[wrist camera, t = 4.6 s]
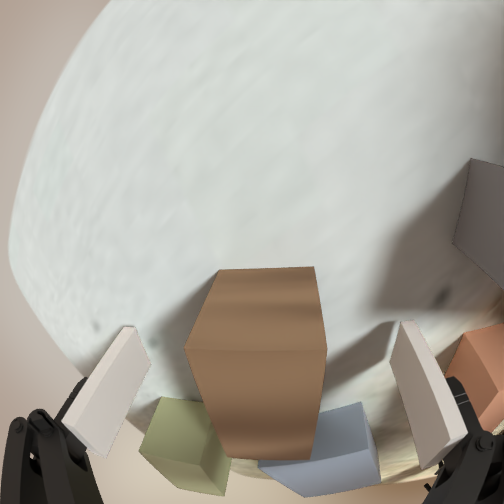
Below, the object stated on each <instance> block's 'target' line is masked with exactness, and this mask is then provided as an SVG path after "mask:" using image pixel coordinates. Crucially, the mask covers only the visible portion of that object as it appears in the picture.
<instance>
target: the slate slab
mask: <svg viewBox="0 0 504 504" xmlns="http://www.w3.org/2000/svg"><path fill="white" fill-rule="evenodd" d="M258 468H259V469H260V470H262V471H263V472H264V473H266V474H267V475H269V476H270V477H272V478H273V479H275V480H277V481H278V482H280V483H281V484H283V485H284V486H286V487H287V488H289V489H291V490H292V491H294V492H296V493H298V494H299V495H301V496H303V497H313V496H321V495H327V494H334V493H339V492H345V491H349V490H354V489H358V488H363V487H367V486H371V485H375V484H379V483H381V475H380V467H379V460H378V453H377V448H376V445H375V442H374V439H373V436H372V433H371V429H370V426H369V423H368V420H367V417H366V414H365V411H364V408H363V405H362V403H361V402H358V403H355V404H352V405H348V406H345V407H341V408H337V409H334V410H330V411H326V412H322V413H319V414H318V420H317V426H316V431H315V437H314V442H313V447H312V452H311V457H310V460H259V461H258Z"/></svg>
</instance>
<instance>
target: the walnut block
mask: <svg viewBox="0 0 504 504" xmlns="http://www.w3.org/2000/svg"><path fill="white" fill-rule="evenodd" d="M184 350H185V353H186V356H187V359H188V362H189V365H190V368H191V371H192V373H193V376H194V379H195V382H196V384H197V387H198V390H199V392H200V395H201V397H202V400H203V402H204V405H205V407H206V410H207V412H208V415H209V417H210V420H211V422H212V424H213V427H214V429H215V431H216V434H217V436H218V438H219V440H220V443H221V445H222V447H223V449H224V451H225V453H226V456H227V457H229V458H239V459H253V460H310V457H311V452H312V447H313V442H314V437H315V431H316V426H317V420H318V414H319V408H320V402H321V395H322V388H323V381H324V373H325V365H326V356H327V343H326V336H325V330H324V323H323V317H322V310H321V304H320V298H319V292H318V287H317V281H316V275H315V270H314V267H289V268H261V269H228V270H219V272H218V274H217V276H216V278H215V280H214V282H213V284H212V287H211V289H210V291H209V293H208V295H207V297H206V299H205V302H204V304H203V306H202V308H201V310H200V313H199V315H198V317H197V319H196V321H195V324H194V326H193V328H192V330H191V332H190V335H189V337H188V339H187V341H186V343H185V346H184Z"/></svg>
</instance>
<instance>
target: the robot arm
mask: <svg viewBox="0 0 504 504" xmlns="http://www.w3.org/2000/svg"><path fill="white" fill-rule="evenodd" d="M151 365H152V364H151V362H150V360H149V358H148V356H147V353H146V351H145V349H144V346H143V344H142V342H141V339H140V337H139V335H138V332H137V330H136V328H134V327H123V329H122V330H121V332H120V333H119V334H118V336H117V337H116V339H115V340H114V341H113V343H112V344H111V346H110V347H109V349H108V350H107V351H106V353H105V354H104V356H103V357H102V359H101V360H100V362H99V363H98V365H97V366H96V368H95V369H94V371H93V372H92V374H91V375H90V377H89V378H87V377H84V378H83V379H82V380H81V381H80V382H78V383H77V385H76V386H75V388H74V389H73V392H71V394H70V396H69V398H67V400H66V402H65V403H64V405H63V406H62V408H61V409H60V411H59V413H58V414H57V416H56V417H55V419H54V420H53V419H52V418H51V417H50V416H49V414H48V413H47V412H46V411H45V410H43V409H36V410H34V411H32V412H31V413H30V414H29V416H28V418H27V420H26V419H24V418H23V417H17V418H16V419H14V420H13V421H12V422H11V424H10V427H9V433H8V438H7V443H6V448H5V455H4V461H3V469H2V480H1V493H0V504H104V503H103V501H102V498H101V495H100V493H99V490H98V487H97V484H96V481H95V478H94V475H93V471H92V468H91V465H90V461H89V457H88V455H87V453H86V452H85V451H86V449H87V448H88V449H89V450H90V451H91V452H92V453H93V454H96V455H98V456H101V457H103V458H107V455H108V453H109V451H110V449H111V446H112V444H113V442H114V440H115V438H116V436H117V434H118V432H119V429H120V427H121V425H122V423H123V421H124V419H125V417H126V415H127V413H128V411H129V409H130V407H131V405H132V402H133V400H134V398H135V396H136V394H137V392H138V390H139V388H140V386H141V384H142V382H143V380H144V378H145V376H146V374H147V372H148V370H149V368H150V367H151ZM390 365H391V368H392V371H393V374H394V377H395V379H396V382H397V385H398V388H399V391H400V395H401V398H402V401H403V404H404V407H405V411H406V414H407V417H408V421H409V424H410V428H411V431H412V435H413V439H414V443H415V446H416V450H417V454H418V459H419V463H420V467H421V470H422V469H426V468H429V467H432V466H434V465H437V464H438V463H439V462H440V461H441V460H442V459H443V461H444V465H443V466H442V467H441V468H440V469H438V470H437V472H436V473H435V475H437V474H438V473H439V472H440V473H439V475H438V477H437V479H436V481H435V483H434V484H433V486H432V488H431V490H430V491H429V493H428V495H427V497H426V499H425V500H424V502H423V503H422V504H504V435H493V434H492V433H490V432H489V431H484V430H483V429H482V427H481V425H480V422H479V420H478V418H477V415H476V413H475V411H474V408H473V406H472V404H471V402H470V401H469V398H468V395H467V394H466V391H465V389H464V387H463V385H462V383H461V382H460V381H459V380H458V379H457V378H456V377H454V376H452V377H448V378H445V377H444V375H443V373H442V371H441V369H440V367H439V365H438V363H437V361H436V359H435V357H434V355H433V353H432V351H431V350H430V348H429V346H428V344H427V342H426V340H425V338H424V336H423V335H422V333H421V331H420V329H419V327H418V326H417V324H416V322H415V320H410V321H403V322H400V326H399V330H398V334H397V338H396V341H395V345H394V348H393V352H392V355H391V358H390ZM30 452H31V453H32V454H33V455H34V457H33V459H31V458H30Z"/></svg>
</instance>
